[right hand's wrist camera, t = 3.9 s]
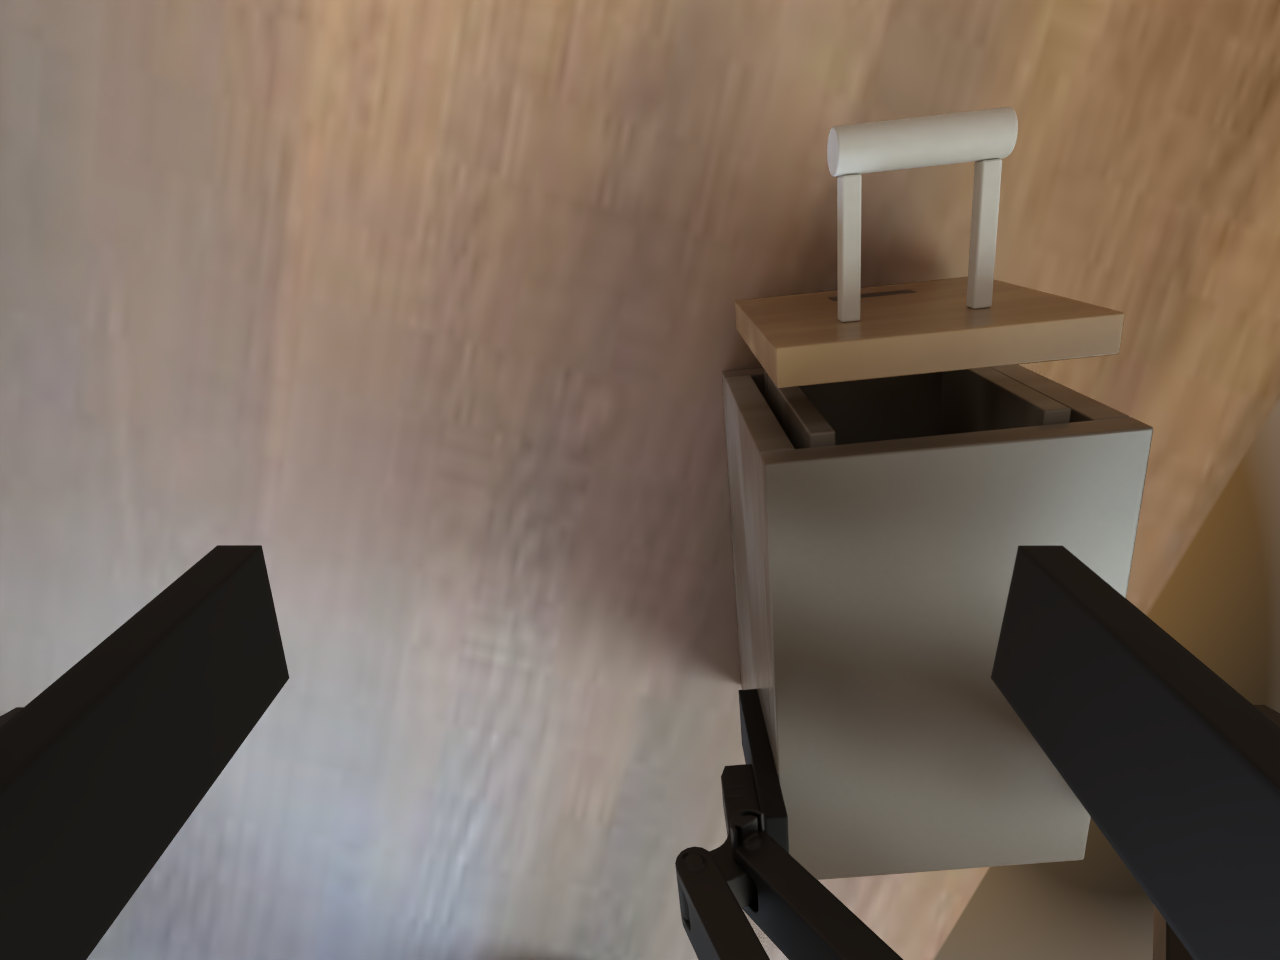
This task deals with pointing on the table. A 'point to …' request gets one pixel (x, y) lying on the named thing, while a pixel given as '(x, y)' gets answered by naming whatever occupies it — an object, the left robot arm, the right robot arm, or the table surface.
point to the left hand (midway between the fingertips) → (892, 704)
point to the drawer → (917, 312)
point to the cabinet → (914, 624)
